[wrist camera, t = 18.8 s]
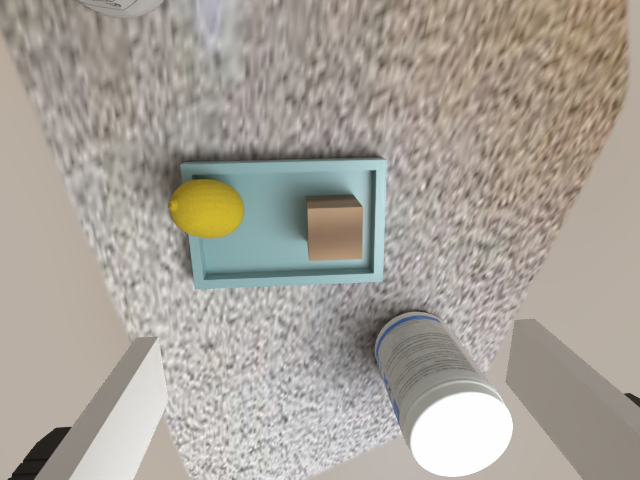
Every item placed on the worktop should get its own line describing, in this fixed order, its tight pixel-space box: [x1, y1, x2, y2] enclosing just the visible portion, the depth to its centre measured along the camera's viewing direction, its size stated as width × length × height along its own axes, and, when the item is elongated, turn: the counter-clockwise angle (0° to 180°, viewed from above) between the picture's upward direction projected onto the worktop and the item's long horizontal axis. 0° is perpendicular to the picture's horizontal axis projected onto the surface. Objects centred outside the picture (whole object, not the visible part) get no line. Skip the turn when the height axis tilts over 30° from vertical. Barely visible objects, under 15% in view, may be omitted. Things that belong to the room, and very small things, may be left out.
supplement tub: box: [375, 312, 513, 477], centre depth 41 cm, size 10×10×15 cm
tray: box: [180, 157, 387, 289], centre depth 41 cm, size 13×20×2 cm, turn 91°
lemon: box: [168, 179, 244, 239], centre depth 37 cm, size 6×6×8 cm
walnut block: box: [306, 195, 363, 261], centre depth 39 cm, size 5×5×6 cm
